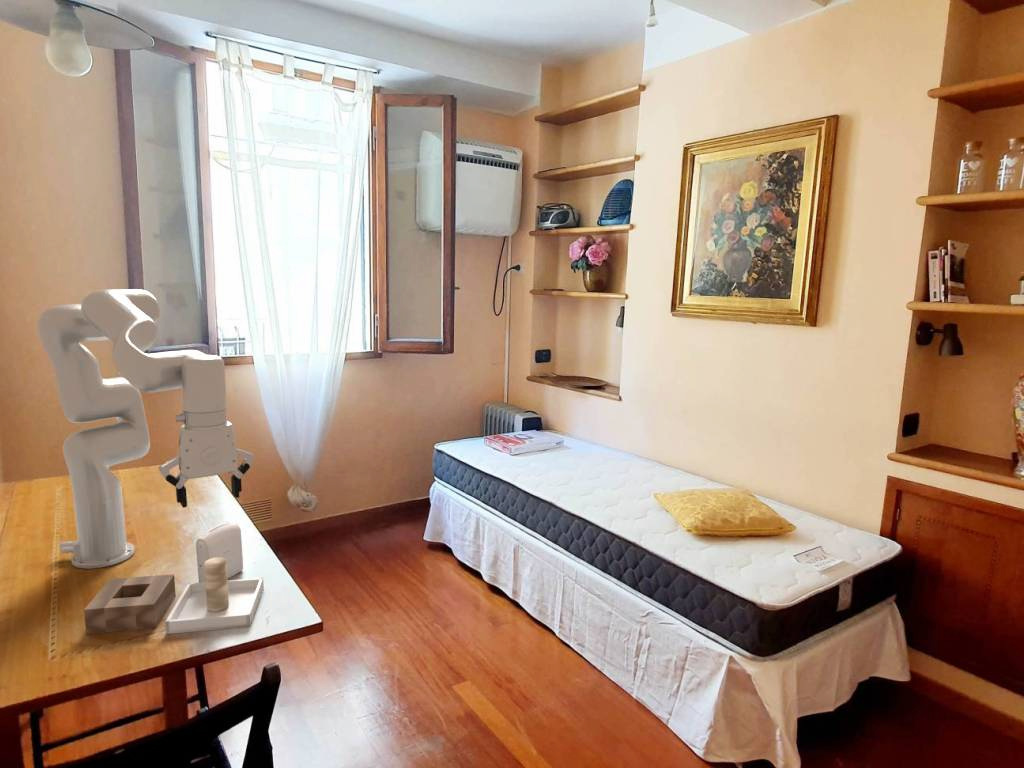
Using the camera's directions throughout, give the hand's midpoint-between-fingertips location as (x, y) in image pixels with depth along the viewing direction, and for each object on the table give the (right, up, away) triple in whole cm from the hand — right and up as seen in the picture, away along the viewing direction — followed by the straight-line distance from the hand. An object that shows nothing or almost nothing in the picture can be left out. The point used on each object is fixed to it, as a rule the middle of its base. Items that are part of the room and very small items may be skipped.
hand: (210, 500), depth 124 cm
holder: (-15, -23, -1) cm, 27 cm away
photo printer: (-5, -21, +15) cm, 26 cm away
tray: (+1, -23, +2) cm, 23 cm away
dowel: (+1, -22, +2) cm, 22 cm away
